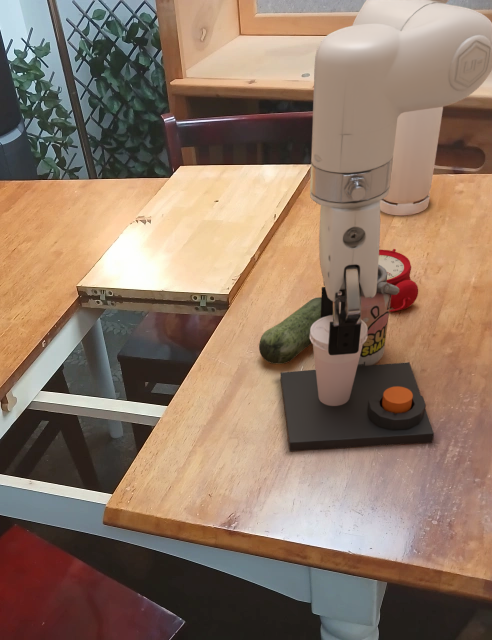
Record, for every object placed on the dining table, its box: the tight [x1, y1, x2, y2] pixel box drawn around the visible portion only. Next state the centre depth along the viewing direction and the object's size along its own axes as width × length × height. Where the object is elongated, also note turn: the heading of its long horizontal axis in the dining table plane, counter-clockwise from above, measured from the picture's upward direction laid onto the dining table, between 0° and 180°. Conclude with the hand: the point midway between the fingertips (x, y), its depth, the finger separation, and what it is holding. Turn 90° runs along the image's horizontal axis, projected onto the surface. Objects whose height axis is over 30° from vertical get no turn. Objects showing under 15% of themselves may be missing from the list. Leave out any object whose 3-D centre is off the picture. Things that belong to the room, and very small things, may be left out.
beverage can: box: [358, 265, 399, 366], centre depth 93 cm, size 9×8×12 cm
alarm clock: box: [378, 248, 419, 313], centre depth 105 cm, size 10×6×15 cm
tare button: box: [382, 386, 413, 413], centre depth 85 cm, size 3×3×2 cm
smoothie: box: [310, 291, 368, 406], centre depth 85 cm, size 6×6×14 cm
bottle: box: [380, 106, 444, 216], centre depth 115 cm, size 8×8×28 cm
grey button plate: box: [279, 361, 435, 452], centre depth 89 cm, size 16×14×3 cm
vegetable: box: [258, 296, 321, 365], centre depth 99 cm, size 14×5×5 cm, turn 133°
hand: (338, 333), depth 84 cm, fingers open, 6 cm apart
